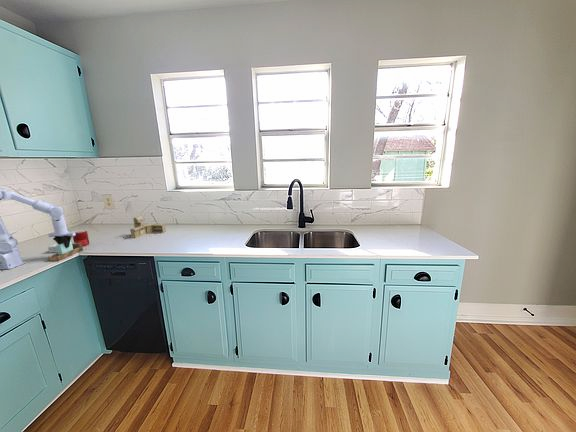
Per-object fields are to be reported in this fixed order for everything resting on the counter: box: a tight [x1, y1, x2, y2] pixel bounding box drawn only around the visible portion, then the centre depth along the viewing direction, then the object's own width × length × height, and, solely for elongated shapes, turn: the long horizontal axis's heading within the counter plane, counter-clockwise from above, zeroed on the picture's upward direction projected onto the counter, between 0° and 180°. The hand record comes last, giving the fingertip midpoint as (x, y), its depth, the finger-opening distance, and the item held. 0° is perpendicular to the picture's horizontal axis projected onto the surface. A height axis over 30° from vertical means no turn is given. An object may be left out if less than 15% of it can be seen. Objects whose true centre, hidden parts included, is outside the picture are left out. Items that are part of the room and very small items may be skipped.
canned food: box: [71, 228, 90, 248], centre depth 169 cm, size 8×8×11 cm
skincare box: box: [47, 243, 58, 254], centre depth 160 cm, size 6×4×12 cm
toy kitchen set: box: [129, 215, 167, 239], centre depth 191 cm, size 18×17×15 cm
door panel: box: [56, 240, 73, 255], centre depth 150 cm, size 8×2×6 cm, turn 3°
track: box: [47, 242, 84, 263], centre depth 151 cm, size 18×6×5 cm, turn 3°
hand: (65, 247), depth 151 cm, fingers closed on door panel, 2 cm apart
